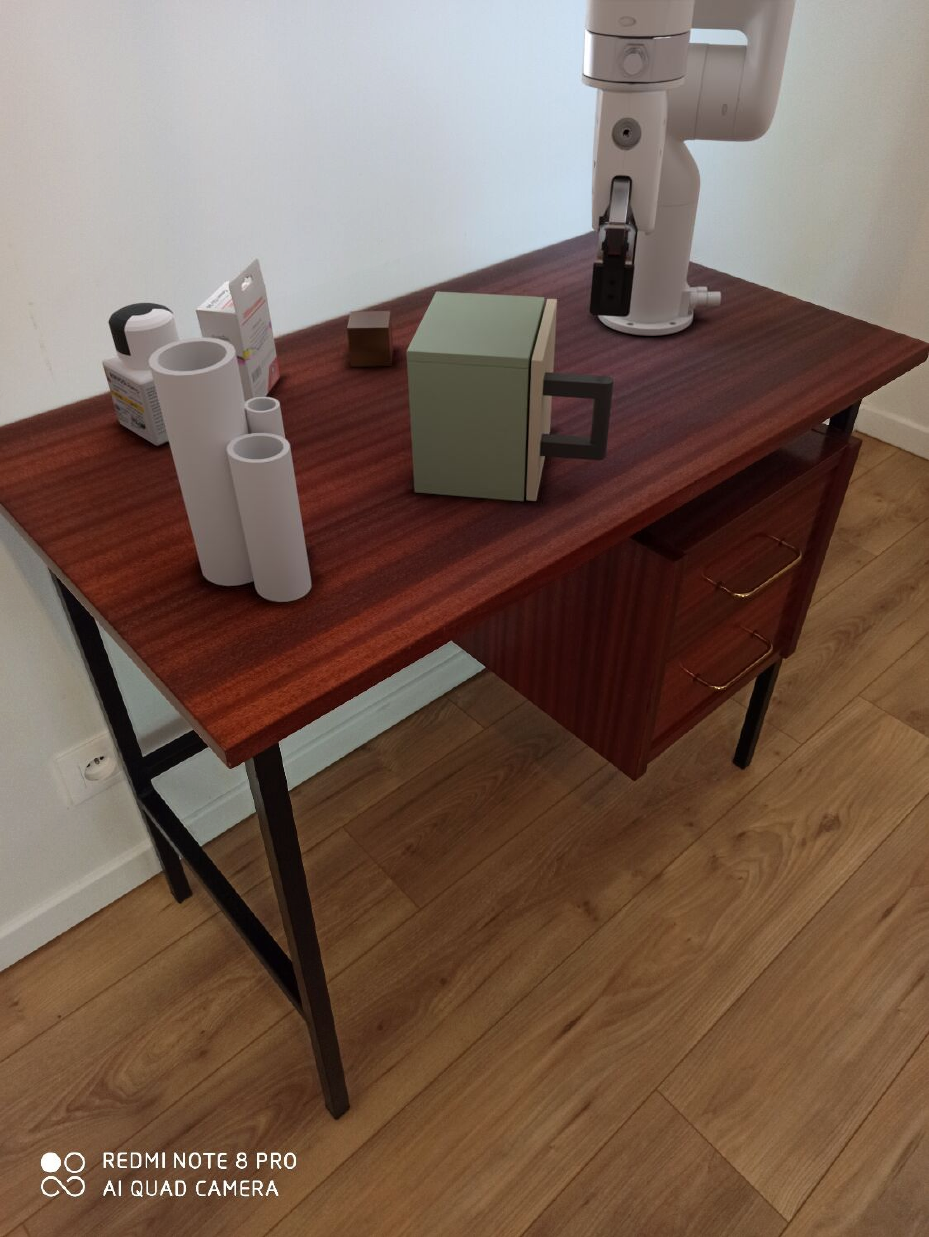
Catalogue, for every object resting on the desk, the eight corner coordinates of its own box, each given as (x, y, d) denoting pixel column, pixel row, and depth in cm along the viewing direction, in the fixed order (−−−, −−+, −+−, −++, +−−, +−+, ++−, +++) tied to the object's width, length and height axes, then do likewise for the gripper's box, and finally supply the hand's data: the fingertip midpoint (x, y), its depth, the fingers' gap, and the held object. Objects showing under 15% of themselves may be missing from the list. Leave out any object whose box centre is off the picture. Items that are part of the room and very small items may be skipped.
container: (118, 424, 103) (85, 312, 94) (177, 400, 107) (150, 290, 98) (157, 448, 99) (126, 332, 90) (216, 421, 103) (192, 309, 94)
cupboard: (538, 431, 100) (544, 296, 90) (523, 501, 90) (528, 358, 80) (440, 424, 102) (436, 291, 92) (414, 492, 91) (406, 350, 81)
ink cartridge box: (243, 375, 112) (220, 252, 102) (281, 378, 111) (262, 255, 101) (214, 408, 105) (187, 281, 96) (255, 412, 104) (232, 284, 95)
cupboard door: (607, 435, 99) (621, 302, 89) (600, 506, 89) (615, 365, 79) (540, 430, 100) (547, 298, 90) (526, 500, 90) (531, 360, 80)
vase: (186, 576, 81) (129, 367, 68) (231, 532, 86) (187, 330, 73) (295, 607, 78) (257, 393, 65) (336, 560, 83) (309, 352, 70)
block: (393, 348, 117) (390, 310, 113) (391, 366, 113) (388, 327, 110) (354, 349, 117) (350, 311, 113) (350, 367, 113) (346, 328, 110)
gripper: (688, 84, 59) (655, 336, 71) (685, 40, 72) (658, 259, 84) (573, 81, 60) (558, 330, 72) (590, 39, 73) (576, 255, 85)
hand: (612, 292), depth 78 cm, fingers open, 9 cm apart
